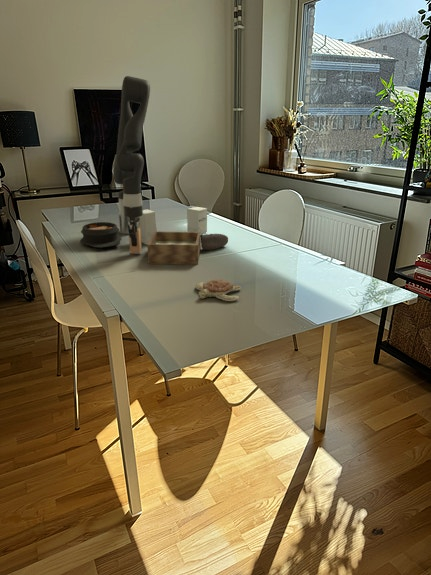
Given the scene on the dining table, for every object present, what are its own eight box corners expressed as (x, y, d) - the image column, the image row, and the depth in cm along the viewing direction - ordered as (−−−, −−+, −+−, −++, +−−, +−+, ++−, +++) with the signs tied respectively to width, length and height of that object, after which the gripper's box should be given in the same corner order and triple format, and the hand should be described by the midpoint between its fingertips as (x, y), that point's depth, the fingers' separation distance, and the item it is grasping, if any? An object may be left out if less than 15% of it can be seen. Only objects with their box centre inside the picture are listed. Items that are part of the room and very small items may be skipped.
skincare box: (157, 243, 195) (156, 211, 189) (146, 245, 192) (144, 213, 186) (150, 239, 201) (148, 208, 196) (138, 241, 198) (136, 210, 193)
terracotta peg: (130, 252, 178) (128, 230, 174) (132, 250, 182) (130, 227, 178) (139, 253, 178) (138, 230, 174) (141, 250, 182) (140, 227, 178)
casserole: (75, 239, 200) (73, 222, 197) (113, 234, 209) (112, 218, 205) (87, 253, 180) (85, 234, 177) (129, 248, 188) (128, 229, 185)
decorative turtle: (180, 293, 143) (180, 279, 141) (215, 281, 153) (215, 268, 151) (218, 310, 131) (218, 295, 129) (253, 295, 141) (254, 281, 139)
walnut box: (148, 263, 169) (147, 244, 166) (155, 248, 187) (154, 231, 184) (198, 264, 169) (197, 245, 166) (200, 249, 187) (200, 232, 184)
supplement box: (198, 235, 208) (198, 210, 203) (186, 233, 212) (186, 208, 208) (207, 232, 214) (207, 208, 209) (196, 230, 218) (196, 206, 213)
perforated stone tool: (225, 244, 195) (225, 230, 192) (231, 247, 190) (231, 232, 188) (196, 249, 188) (196, 234, 185) (202, 252, 183) (202, 237, 181)
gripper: (127, 200, 178) (130, 239, 185) (119, 207, 165) (122, 249, 172) (145, 200, 178) (147, 239, 185) (138, 208, 165) (141, 249, 172)
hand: (135, 244), depth 178 cm, fingers closed on terracotta peg, 4 cm apart
